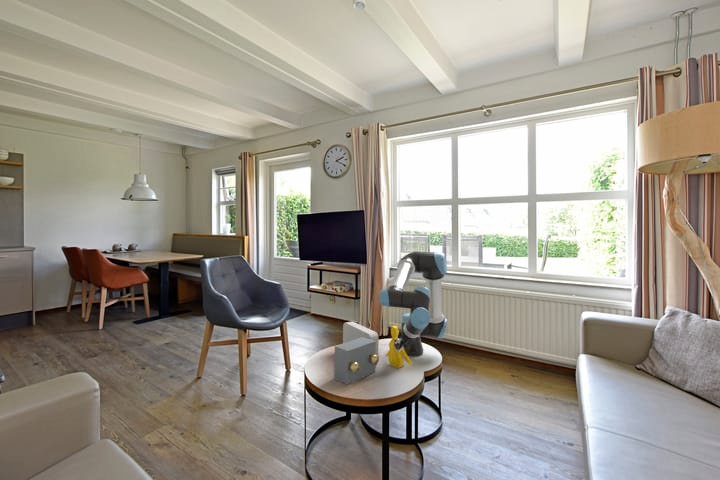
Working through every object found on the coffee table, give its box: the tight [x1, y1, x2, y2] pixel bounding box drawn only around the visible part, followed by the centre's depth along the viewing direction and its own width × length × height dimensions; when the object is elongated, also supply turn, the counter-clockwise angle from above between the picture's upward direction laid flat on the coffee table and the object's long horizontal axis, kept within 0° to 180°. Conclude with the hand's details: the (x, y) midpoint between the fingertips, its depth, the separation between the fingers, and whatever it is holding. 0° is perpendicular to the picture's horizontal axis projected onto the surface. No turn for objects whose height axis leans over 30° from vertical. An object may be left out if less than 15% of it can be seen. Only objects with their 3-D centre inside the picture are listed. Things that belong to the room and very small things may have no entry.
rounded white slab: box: [342, 321, 380, 366], centre depth 184 cm, size 29×8×18 cm, turn 33°
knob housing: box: [333, 337, 376, 386], centre depth 162 cm, size 20×9×16 cm, turn 136°
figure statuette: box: [385, 325, 413, 369], centre depth 174 cm, size 18×8×22 cm, turn 46°
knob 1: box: [349, 362, 360, 373], centre depth 155 cm, size 4×9×4 cm, turn 46°
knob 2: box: [369, 354, 380, 366], centre depth 165 cm, size 4×9×4 cm, turn 46°
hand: (397, 349), depth 160 cm, fingers closed
